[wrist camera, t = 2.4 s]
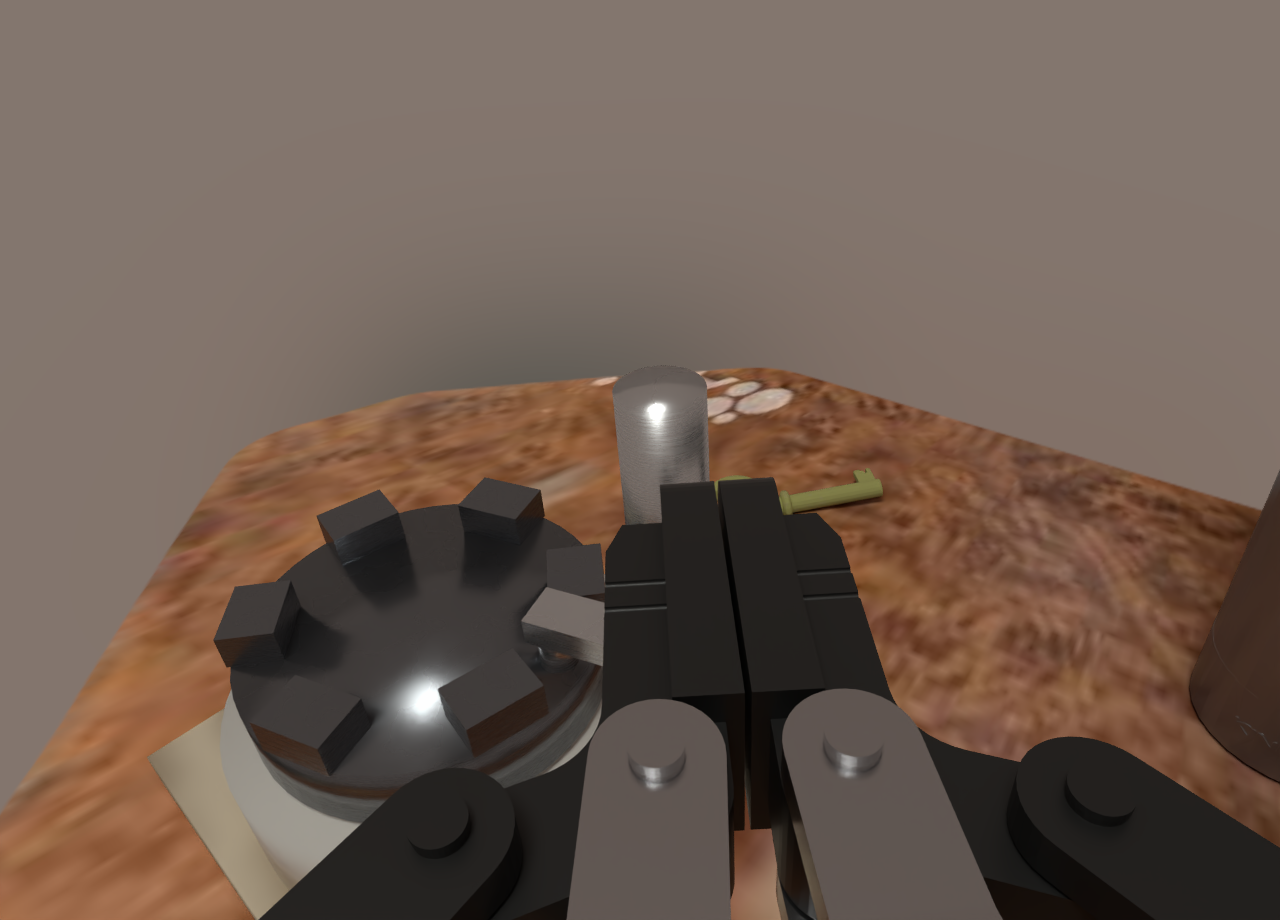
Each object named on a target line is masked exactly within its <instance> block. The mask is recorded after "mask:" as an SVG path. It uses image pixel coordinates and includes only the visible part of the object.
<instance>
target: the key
mask: <svg viewBox="0 0 1280 920" xmlns="http://www.w3.org/2000/svg"><path fill="white" fill-rule="evenodd" d="M853 474H854V478H855V480H856V482H857V483H853V484H847V485H842V486H837V487H831V488H826V489H821V490H815V491H810V492H804V493H799V494H794V495H789V494H788V492H787V491H781V492H780V496H779V500H780V504H781V508H782V512H783V515H791V514H793V513H794V512H800V511H805V510H810V509H816V508H821V507H827V506H832V505H837V504H843V503H848V502H854V501H859V500H864V499H870V498H875V497H881V496H882V495H883V489H882V485H881V482H880V480H879V479H875V478H874V476H873V474H872V472H871V470H870V469H869V468H867V469H865V473H864V472H863V471H860V470H856V471H853ZM737 479H752V478H749V477H746V476H729V477H725V478H721V479H720V480H718V481H721V480H737ZM718 481H716V482H715V483H714V484H715V490H716V497H717V501H718Z"/></svg>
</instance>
